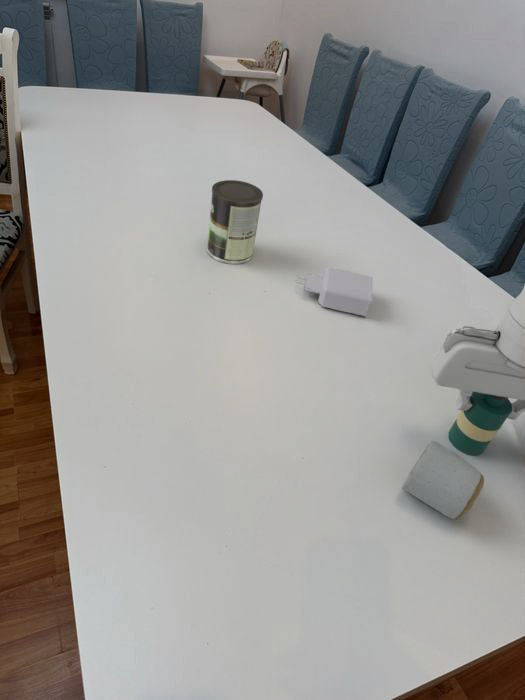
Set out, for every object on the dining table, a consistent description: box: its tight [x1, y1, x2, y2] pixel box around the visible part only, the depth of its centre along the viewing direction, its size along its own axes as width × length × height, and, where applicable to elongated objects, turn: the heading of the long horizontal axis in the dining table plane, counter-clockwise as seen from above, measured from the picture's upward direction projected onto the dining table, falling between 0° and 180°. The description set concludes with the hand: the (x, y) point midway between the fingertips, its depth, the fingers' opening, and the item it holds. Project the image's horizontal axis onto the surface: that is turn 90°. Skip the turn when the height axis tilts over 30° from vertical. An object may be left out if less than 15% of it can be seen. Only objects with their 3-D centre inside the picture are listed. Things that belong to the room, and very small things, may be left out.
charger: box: [294, 267, 373, 317], centre depth 99 cm, size 5×9×15 cm
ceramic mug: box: [401, 440, 485, 520], centre depth 66 cm, size 11×8×8 cm
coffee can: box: [206, 179, 264, 265], centre depth 104 cm, size 10×10×14 cm
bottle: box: [447, 392, 512, 456], centre depth 73 cm, size 6×6×12 cm
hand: (485, 411), depth 72 cm, fingers closed on bottle, 5 cm apart
